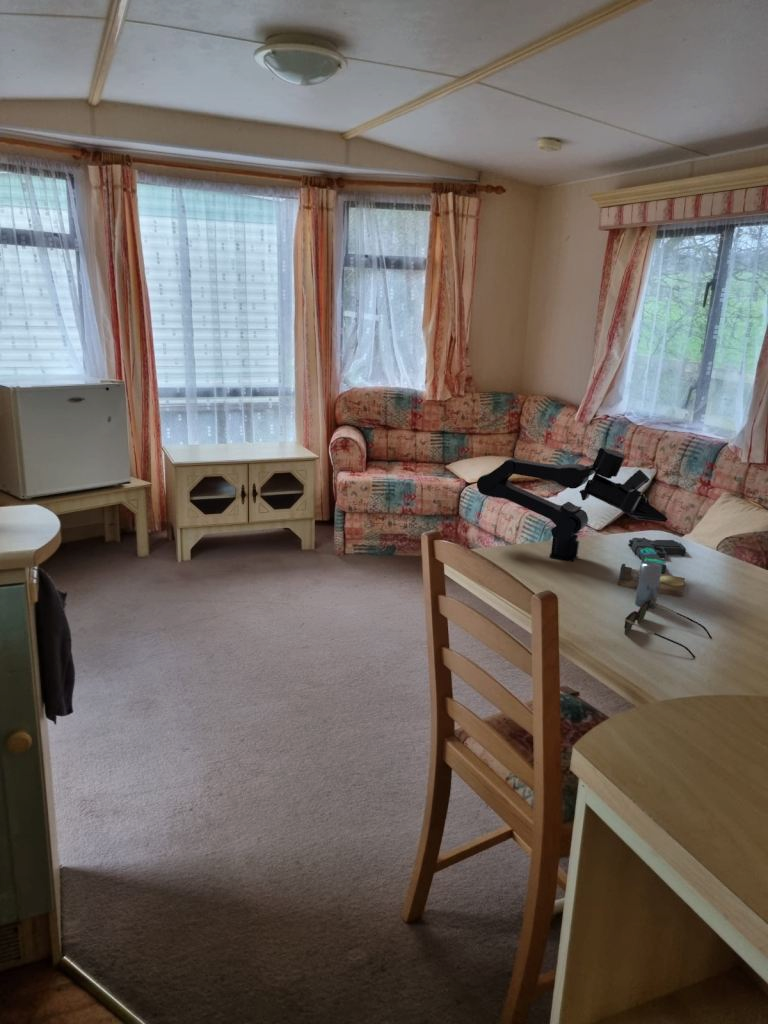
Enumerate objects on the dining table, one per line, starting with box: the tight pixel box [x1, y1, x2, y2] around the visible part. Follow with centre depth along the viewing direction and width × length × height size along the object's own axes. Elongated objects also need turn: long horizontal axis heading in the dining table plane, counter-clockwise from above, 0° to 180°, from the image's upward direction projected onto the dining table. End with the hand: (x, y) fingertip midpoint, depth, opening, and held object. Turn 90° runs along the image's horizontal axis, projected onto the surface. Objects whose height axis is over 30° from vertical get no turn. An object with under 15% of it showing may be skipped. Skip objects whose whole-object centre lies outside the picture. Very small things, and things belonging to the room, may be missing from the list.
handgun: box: [627, 537, 687, 574], centre depth 199 cm, size 4×26×15 cm
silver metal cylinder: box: [634, 561, 662, 610], centre depth 165 cm, size 5×5×10 cm
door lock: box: [617, 563, 685, 597], centre depth 179 cm, size 15×11×4 cm
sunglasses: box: [623, 600, 713, 658], centre depth 149 cm, size 14×15×5 cm
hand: (665, 519), depth 180 cm, fingers open, 9 cm apart
